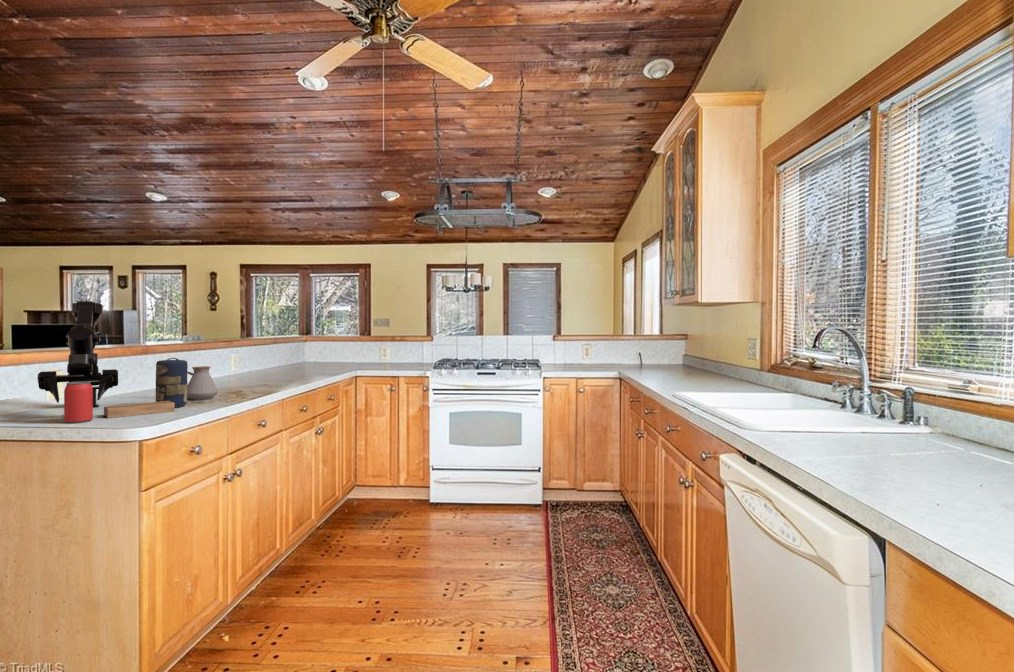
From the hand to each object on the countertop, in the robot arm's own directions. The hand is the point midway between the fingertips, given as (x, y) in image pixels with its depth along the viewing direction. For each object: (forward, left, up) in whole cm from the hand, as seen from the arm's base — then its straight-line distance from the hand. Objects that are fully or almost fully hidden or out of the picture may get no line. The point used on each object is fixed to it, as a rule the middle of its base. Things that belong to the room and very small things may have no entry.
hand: (78, 400), depth 147 cm
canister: (-12, +27, -7) cm, 31 cm away
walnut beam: (-4, +16, -7) cm, 18 cm away
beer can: (-1, 0, -7) cm, 7 cm away
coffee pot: (-29, +37, -7) cm, 48 cm away
